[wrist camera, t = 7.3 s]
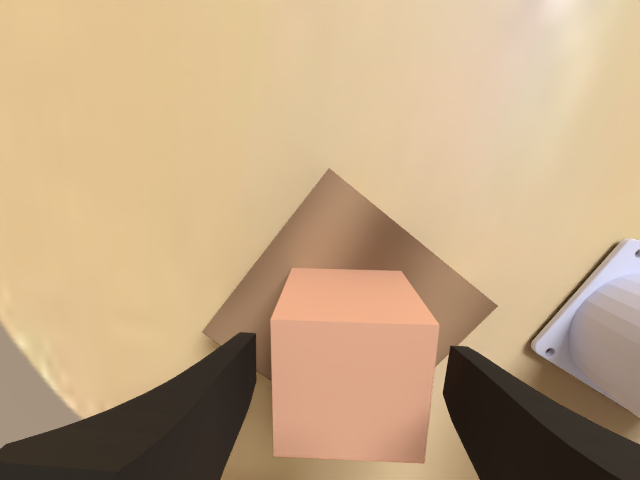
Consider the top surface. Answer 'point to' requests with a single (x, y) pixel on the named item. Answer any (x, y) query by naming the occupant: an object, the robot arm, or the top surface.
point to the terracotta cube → (352, 366)
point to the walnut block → (346, 253)
